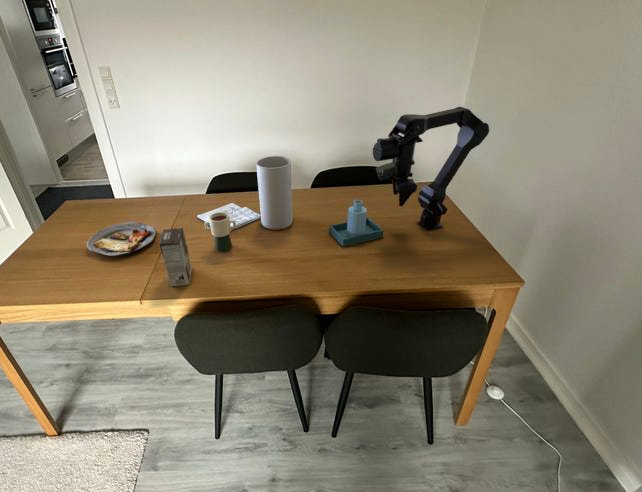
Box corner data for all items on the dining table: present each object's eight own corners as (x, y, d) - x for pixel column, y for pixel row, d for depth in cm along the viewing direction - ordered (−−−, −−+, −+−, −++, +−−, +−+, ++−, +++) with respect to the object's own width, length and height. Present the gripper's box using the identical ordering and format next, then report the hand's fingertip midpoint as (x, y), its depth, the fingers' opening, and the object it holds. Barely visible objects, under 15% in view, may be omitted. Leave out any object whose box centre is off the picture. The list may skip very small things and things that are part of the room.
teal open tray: (366, 223, 145) (367, 217, 144) (382, 237, 137) (383, 230, 135) (329, 232, 142) (329, 225, 140) (342, 246, 133) (343, 239, 131)
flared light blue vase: (358, 228, 142) (361, 196, 135) (367, 235, 137) (371, 203, 130) (343, 231, 141) (345, 199, 133) (352, 239, 136) (354, 207, 128)
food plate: (168, 233, 149) (166, 225, 146) (127, 265, 132) (124, 256, 130) (121, 223, 158) (118, 215, 156) (76, 251, 141) (73, 244, 139)
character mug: (239, 242, 140) (235, 210, 132) (238, 252, 134) (233, 220, 126) (210, 243, 140) (204, 212, 133) (207, 254, 134) (201, 222, 127)
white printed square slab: (222, 235, 145) (222, 230, 143) (196, 217, 158) (195, 213, 157) (261, 218, 154) (261, 214, 153) (234, 203, 167) (233, 199, 166)
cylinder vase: (256, 228, 148) (250, 166, 134) (268, 213, 157) (264, 155, 143) (286, 232, 144) (283, 169, 129) (296, 217, 153) (295, 157, 139)
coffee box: (173, 270, 127) (162, 228, 118) (192, 268, 127) (183, 227, 118) (169, 287, 120) (158, 244, 111) (190, 285, 120) (180, 242, 111)
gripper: (374, 148, 131) (370, 189, 140) (384, 167, 116) (379, 213, 125) (407, 147, 130) (401, 189, 139) (421, 166, 115) (413, 212, 124)
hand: (398, 200), depth 132 cm, fingers open, 9 cm apart
